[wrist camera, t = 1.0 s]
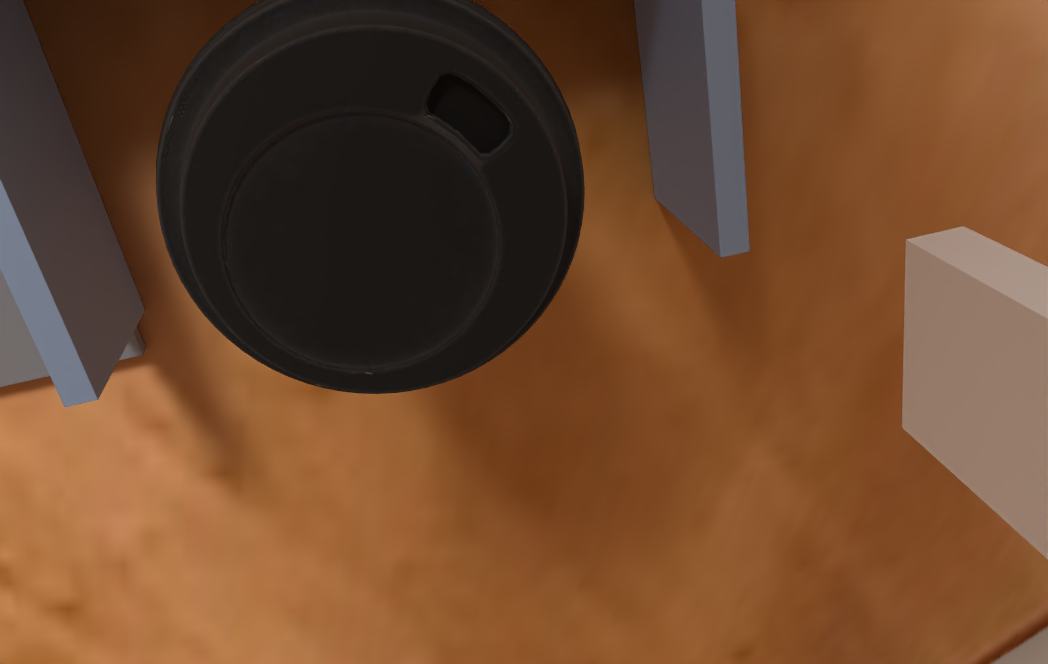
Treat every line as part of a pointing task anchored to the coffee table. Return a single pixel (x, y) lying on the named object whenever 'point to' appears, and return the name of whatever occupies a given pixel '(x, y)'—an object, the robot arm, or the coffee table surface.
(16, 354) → the coaster
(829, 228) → the coffee table surface
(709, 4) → the grey u-shaped wall
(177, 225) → the coffee cup
